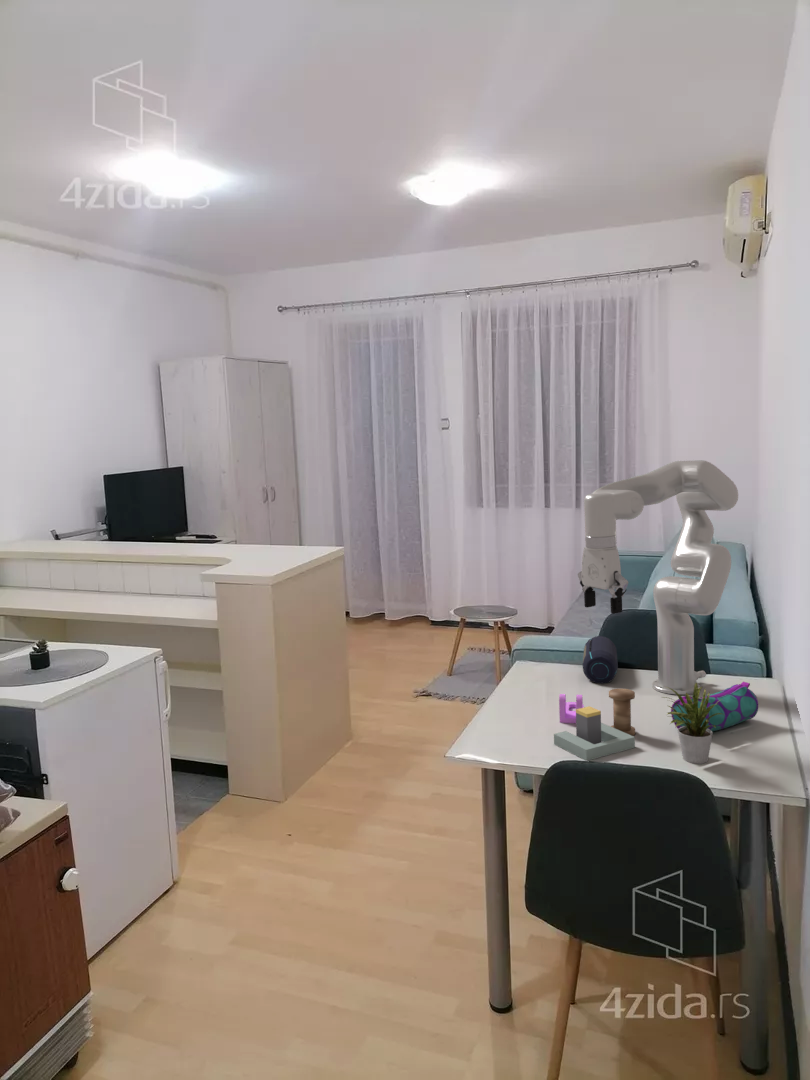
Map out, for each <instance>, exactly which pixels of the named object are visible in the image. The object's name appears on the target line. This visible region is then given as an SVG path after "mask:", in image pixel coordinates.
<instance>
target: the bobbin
mask: <svg viewBox="0 0 810 1080" xmlns="http://www.w3.org/2000/svg"><path fill="white" fill-rule="evenodd" d="M608 698H609V699H612V701H613V703H612V705H613V707H612V708H613V713H612V714H613V725H609V726H610V727H613V728H615V729H617V730H620V731H622V732H624V733H627V734H629V735H631V736H634V737H635V735H636V728H635V727H634V726H632V712H631V710H632V707H631V705H632V704H631V703H632V700H634V699H635V698H636V692H635V691H634V690H632V689H628V688H612V689H610V690H608Z"/></svg>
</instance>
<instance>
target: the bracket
mask: <svg viewBox="0 0 810 1080" xmlns="http://www.w3.org/2000/svg"><path fill="white" fill-rule="evenodd" d="M575 695H576V700H575V701H567V698H566V694H565V693H559V696H558V697H559V698H558V701H559V702H558V703H559V704H558V705H559V707H558V709H559V710H558V712H559V713H558V715H559V723H560V724H561V723H564V724H576V709H580V708H584V707H585V706H584V704H583V703H584V702H583V694H575ZM571 708H572V709H573V708H574V709H575V710H570V709H571Z"/></svg>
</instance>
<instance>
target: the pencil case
mask: <svg viewBox="0 0 810 1080" xmlns="http://www.w3.org/2000/svg"><path fill="white" fill-rule="evenodd" d="M750 686H751V683H750V682H747V681H742V682H741V683H737V684H736V683H735V684H734V685H733V684H732V685H731V686H730V687H727V688H725V689H723V690H720V691H717V692H714V693H709V694H710V695H709V701H708V704H707V707H706V709H707V708H708V707H710V706H712V705H715V704H716V703H717V702H718V701H719V702H718V703H717V704H716V705H715V706H714V707H713V708H712V709H711V710H710V711H709V713H708V714H707V716H706V718H705V719H704V721H703V723H704V722H705V720H706V719H708V718H709V717H710V716H712V715H713V714H716V713H722V714H717V715H715V716H713V717H711V718H710V719H708V720H709V722H708V724H707V725H706V726H708V725H710V727H708V729H710V730H711V731H712V732H717V731H721V730H723V729H727V728H729V727H733V726H735V725H738V724H740V723H743V722H746V721H748V720H752V719H753V718H755V717H756V716H757V713H758V711H759V701H758V697H757V696H756V694H755V693H754V692H753V690H751V689H750V688H749V687H750ZM688 695H689V697H690V698H691V700H692V702H693V694H688ZM681 697H682V698H683V700H684V702H685V703H687V700H686V695H685V696H681ZM702 697H703V696H702ZM702 697H699V698H698V708H700V705H701V702H702ZM706 697H707V695H706ZM706 697H705V699H706ZM721 699H722V700H721ZM676 701H677V702H676ZM674 702H675V703H676V704H677V705H678V706H679V707H680V708H681V709H682V711H683V712H684V713H685V714H687V712H686V711H685V710H686V709H685V710H684V708H685V707H684V705H683V704H682V702H681V701H680V699H679V698H678V699H676V700H675V701H674ZM674 702H672V705H671V707H672V708H674V709H675V710H676V711H677V712H680V713H682V711H681V710H680V709H679V707H678V706H677V705H676V704H675V703H674ZM704 703H705V701H704ZM680 704H681V705H682V706H683V707H684V708H683V707H682V706H681V705H680ZM687 704H688V703H687ZM703 706H704V705H703ZM672 708H670V712H672V711H673V712H674V710H673V709H672ZM723 714H724V715H723ZM670 716H672V717H671V719H672V720H674V719H676V718H677V719H676V720H681V719H680V718H679V717H678V716H677V715H674V714H670ZM674 717H675V718H674ZM681 718H682V719H683V720H684V721H686V720H687V719H686V720H685V719H684V718H683V717H681ZM688 720H689V719H688ZM689 722H690V723H691V721H690V720H689ZM676 723H677V722H674V723H673V724H674V725H675V727H676ZM686 723H687V722H686ZM703 723H702V725H703ZM683 724H684V723H683ZM683 724H681V725H679V726H677V727H676V729H677V730H678V729H679V728H680V727H683V726H684V725H685V724H684V725H683ZM702 725H701V726H702ZM713 725H715V726H716V728H715V727H713ZM685 726H686V725H685Z"/></svg>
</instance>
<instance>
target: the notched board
mask: <svg viewBox="0 0 810 1080" xmlns="http://www.w3.org/2000/svg"><path fill="white" fill-rule="evenodd" d="M610 726H611V725H608V724H605V723H603V722H601V743H598V744H592V743H590V742H588V741H586V740H584V739H582V738H580V737H578V736H576V734H573V733H571V732H569V731H567V730H565V731H561V732H557V733H553V745H555V746H557V747H558V748H560V749H562V750H565V751H567V752H568V753H571V754H572V755H574V756H576V757H578V758H580V759H582V760H584V761H586V760H588V761H591V760H594V759H598V758H603V757H605V756H609V755H614V754H615V753H616V754H617V753H620V752H624V751H627V750H631V749H634V748H636V740H635V739H636V737H635V735H634V736H631V735H629V734H627V733H624V732H622V731H620V730H617V729H615V728H613V727H610Z"/></svg>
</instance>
